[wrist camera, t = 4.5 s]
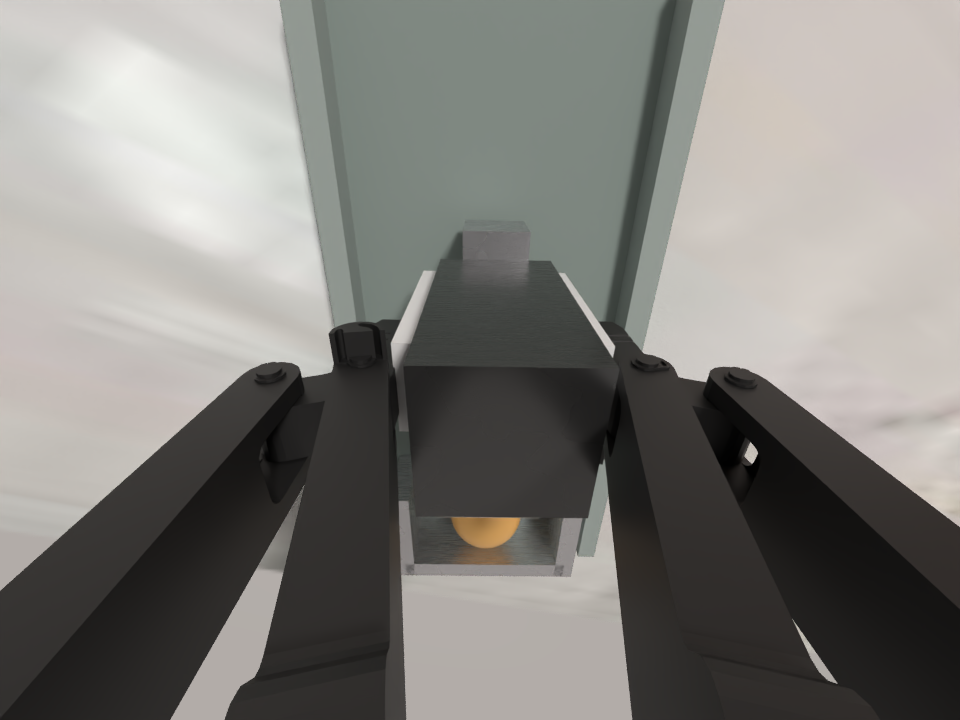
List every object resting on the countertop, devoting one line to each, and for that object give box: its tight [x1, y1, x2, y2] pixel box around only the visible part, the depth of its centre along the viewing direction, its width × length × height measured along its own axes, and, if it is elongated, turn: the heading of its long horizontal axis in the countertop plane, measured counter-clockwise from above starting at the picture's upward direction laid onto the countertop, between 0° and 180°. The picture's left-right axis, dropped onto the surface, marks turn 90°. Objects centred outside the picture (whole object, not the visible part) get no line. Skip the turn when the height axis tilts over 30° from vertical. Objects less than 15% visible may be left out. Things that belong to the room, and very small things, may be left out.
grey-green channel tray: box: [279, 0, 725, 557], centre depth 19 cm, size 14×28×2 cm, turn 179°
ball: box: [451, 517, 520, 548], centre depth 22 cm, size 4×4×4 cm
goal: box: [397, 455, 582, 577], centre depth 23 cm, size 10×6×4 cm, turn 89°
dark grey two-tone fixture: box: [403, 220, 619, 518], centre depth 15 cm, size 5×13×11 cm, turn 179°
